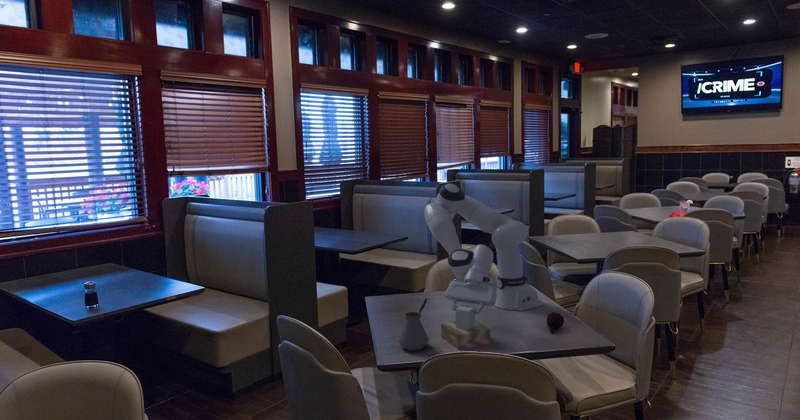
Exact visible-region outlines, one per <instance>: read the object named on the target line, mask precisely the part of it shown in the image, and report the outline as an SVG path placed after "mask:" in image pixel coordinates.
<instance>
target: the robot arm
mask: <svg viewBox="0 0 800 420" xmlns="http://www.w3.org/2000/svg"><path fill="white" fill-rule="evenodd" d="M456 214H458V215H460V216H461V217H462V218H463V219H464V220H466V221H467V222H468V223H470V224H472V225H473V226H475V227H477V228H478V229H479V230H481V231H482V232H484V233H488V234H491V242H492V244H493V246H494V248H495V250H496V255H497V266H498V267H497V269H498V270H497V271H498V273H497V282H495V280H494V279H493V278H491V277H489V273H490V271H491V269H492V266H493V263H494V252H493V250H492V249H491V248H490V247H489V246H487V245H485V244H476V245H474V246H473V247H470V248H466V249H465V248H464V249H463V248H462V245H461V243H460V240H459V237H458V234H457V231H456V226H455V224H454V222H453V220H454V218H455V216H456ZM423 216H424V219H425V223H426V225H427V227H428V229H429V231H430V233H431V234H432V236H433V237H434V238H435V239H436V240H437V242H438V243H439V244H440V245H441V246H442V248H444V250H445V251H446V253H447V254H448V257H447V264H448V265H449V267H450V268H451V270H452V272H453V274H454V275H455V277H456V278H455V279H452V280H450V282H449V284H448V287H447V289H446V291H445V298H446V299H447V300H448V301H451V302H452V307H451V309H452V311H454V312H456V308H458V307H459V306H458V305H456V304H458V302H460V303H467V304H472V305H473V304H474V305H478V307H475V311H474V313H475V315H480V313H481V311H483V309H484V308H485V307H486V306H487V307H493V306H495V307H497V308H499V309H503V310H512V311H519V312H522V311H523V312H524V311H526V310H531V309H534V308H538V307H542V306H544V301H542V300H541V299H539V295H538V294H539V293H538V292H537V290H536V289H534V288H533V287H532V286H531V285H529V284H528V283H527V282H530V281H531V278H530V277H529V276H527V275H526V276H525V275H524V274H523V269H524V268H523V267H524V266H523V265H524V264H523V263H524V262H523V258H522V256H521V254H520V247H519V245H520V244H522V243H523V242H524V241H525V240H526V239H527V236H528V235H529V234H528V232H529V230H528V227H527V225H526V224H525V223H524V222H521V221H518V220H516V219H514V218H511V217H509V216H507V215H505V214H502V213H500V212H498V211H496V210H494V209H493V208H492V207H489V206H488V205H487V204H485V203H483V202H481V201H480V200H478V199H476V198H474V197H472V196H470V195H468V194H467V195H465V193H464V191H462V189H461V188H460V187H459V186H458V185H457V184H455V183H451V182H446V183H444V184H442V185H441V186H440V188H439V190H438V193H437V196H436V198H435V201H434V202H431V203H428V204H427V205H426V206H425V208H424V210H423ZM526 281H527V282H526Z"/></svg>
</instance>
